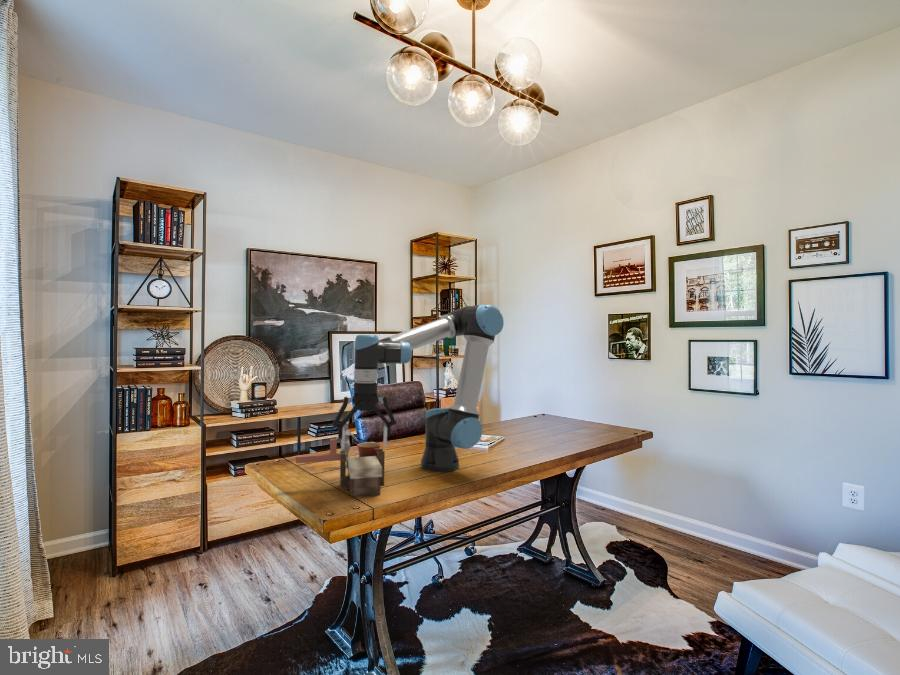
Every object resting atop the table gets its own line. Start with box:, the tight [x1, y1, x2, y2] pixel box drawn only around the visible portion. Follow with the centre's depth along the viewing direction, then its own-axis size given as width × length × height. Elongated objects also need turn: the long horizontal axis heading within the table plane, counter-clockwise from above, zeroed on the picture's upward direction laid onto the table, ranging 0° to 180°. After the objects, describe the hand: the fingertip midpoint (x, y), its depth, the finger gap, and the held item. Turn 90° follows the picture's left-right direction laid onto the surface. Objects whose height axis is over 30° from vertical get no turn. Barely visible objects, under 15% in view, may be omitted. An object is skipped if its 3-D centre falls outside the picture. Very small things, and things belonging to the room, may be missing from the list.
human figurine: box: [335, 421, 359, 468], centre depth 182 cm, size 12×4×18 cm, turn 133°
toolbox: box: [339, 448, 386, 498], centre depth 156 cm, size 14×14×12 cm
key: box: [295, 438, 346, 464], centre depth 156 cm, size 16×2×7 cm, turn 107°
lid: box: [346, 456, 382, 479], centre depth 156 cm, size 10×15×3 cm, turn 17°
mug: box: [356, 441, 381, 459], centre depth 175 cm, size 12×9×10 cm
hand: (364, 447), depth 152 cm, fingers open, 13 cm apart
